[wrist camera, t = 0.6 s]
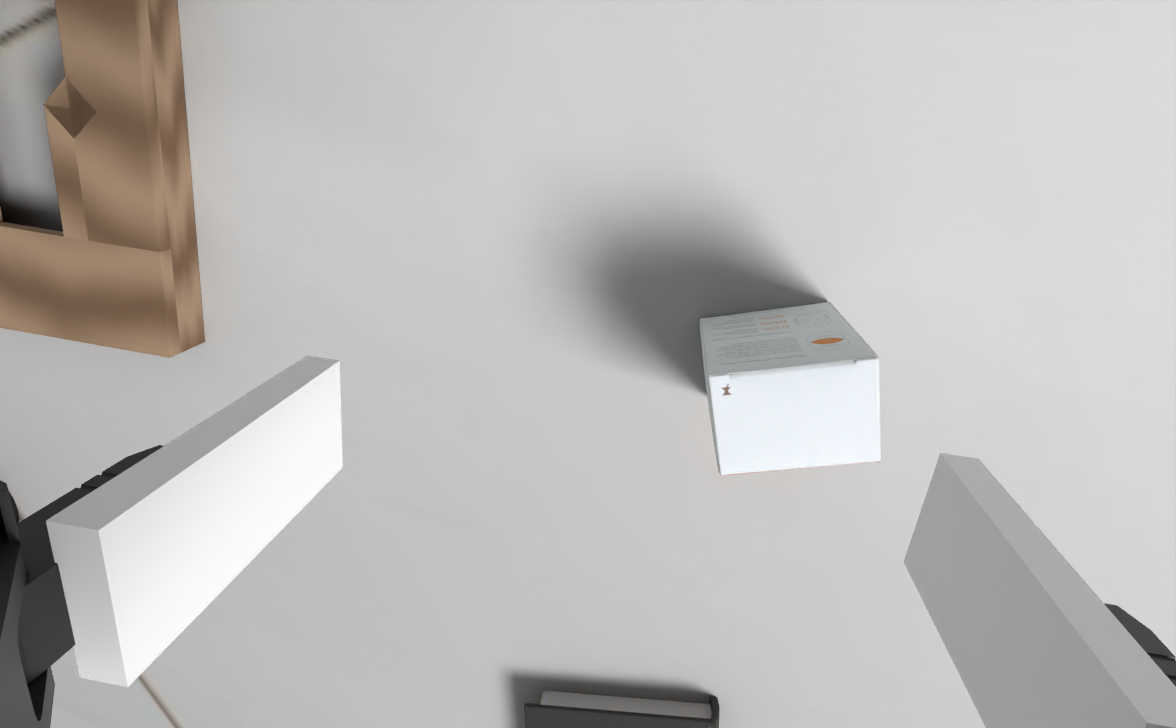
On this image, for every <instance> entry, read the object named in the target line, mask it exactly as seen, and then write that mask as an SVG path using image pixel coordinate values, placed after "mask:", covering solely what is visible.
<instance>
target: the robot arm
mask: <svg viewBox="0 0 1176 728" xmlns="http://www.w3.org/2000/svg"><path fill="white" fill-rule="evenodd" d="M342 468H343V462H342V428H341V394H340V361H338V360H332V359H325V358H319V357H312V356H306V357H305V358H303V359H301V360H300V361H298V362H297V363H295V364H293V365H292V366H290V367H289V368H287V369H286V370H284V371H282V372H281V373H279V374H278V375H276V376H274V377H273V378H271V379H270V380H268V381H266V382H265V383H263V384H262V385H260V386H259V387H257V388H255V389H254V390H252V391H251V392H249V393H247V394H246V395H244V396H243V397H241V398H240V399H238V400H236V401H235V402H233V403H232V404H230V405H228V406H227V407H225V408H224V409H222V410H221V411H219V412H217V413H216V414H214V415H213V416H211V417H209V418H208V419H206V420H205V421H203V422H201V423H200V424H198V425H197V426H195V427H194V428H192V429H190V430H189V431H187V432H186V433H184V434H182V435H181V436H179V437H178V438H176V439H175V440H173V441H171V442H170V443H168V444H167V445H165V446H161V445H159V446H156V447H153V448H150V449H147V450H145V451H142V452H139V453H136V454H133V455H131V456H128V457H126V458H124V459H123V460H121V461H119V462H118V463H116V464H114V465H113V466H111V467H110V468H108V469H106V470H105V471H103V472H102V475H96V476H95V477H93V478H91V479H90V480H88V481H87V482H85V483H83V484H82V485H81V488H75V489H73V490H72V491H70V492H68V493H67V494H65V495H63V496H62V497H60V498H59V499H57V500H55V501H54V502H52V503H50V504H49V505H47V506H45V507H44V508H42V509H40V510H39V511H37V512H36V513H34V514H32V515H31V516H29V517H27V518H26V519H24V520H22V521H21V522H19V523H17V524H16V520H15V516H14V512H13V508H12V503H11V499H10V495H9V491H8V487H7V484H6V483H4V482H2V481H0V728H50V723H51V714H52V705H53V696H54V687H55V683H54V679H53V675H52V671H51V665H52V664H53V663H55V662H56V661H57V660H58V659H59V658H60V657H61V656H63V655H64V654H65V653H66V652H67V651H68V650H70V649H71V648H72V647H74V652H75V656H76V661H77V665H78V670H79V674H80V678H85V679H90V680H95V681H100V682H105V683H110V684H115V685H119V686H124V687H129V686H130V685H131V684H132V683H133V681H134V680H135V679H136V678H137V677H138V676H139V675H140V674H141V673H142V672H143V671H144V670H145V669H146V668H147V667H148V666H149V665H150V664H151V663H152V662H153V661H154V660H155V659H156V658H157V657H158V656H159V655H160V654H161V653H162V652H163V651H164V650H165V649H166V648H167V647H168V646H169V645H170V644H171V643H172V642H173V641H174V640H175V639H176V637H177V636H178V635H179V634H180V633H181V632H182V631H183V630H184V629H185V628H186V627H187V626H188V625H189V624H190V623H191V622H192V621H193V620H194V619H195V618H196V617H197V616H198V615H199V614H200V613H201V612H202V611H203V610H204V609H205V608H206V607H207V606H208V605H209V604H210V603H211V602H212V601H213V600H214V599H215V598H216V597H217V596H218V594H219V593H220V592H221V591H222V590H223V589H224V588H225V587H226V586H227V585H228V584H229V583H230V582H231V581H232V580H233V579H234V578H235V577H236V576H237V575H238V574H239V573H240V572H241V571H242V570H243V569H244V568H245V567H246V566H247V565H248V564H249V563H250V562H251V561H252V560H253V559H254V558H255V557H256V556H257V555H258V554H259V553H260V551H261V550H262V549H263V548H264V547H265V546H266V545H267V544H268V543H269V542H270V541H271V540H272V539H273V538H274V537H275V536H276V535H277V534H278V533H279V532H280V531H281V530H282V529H283V528H284V527H285V526H286V525H287V524H288V523H289V522H290V521H291V520H292V519H293V518H294V517H295V516H296V515H297V514H298V513H299V512H300V511H301V510H302V509H303V507H304V506H305V505H306V504H307V503H308V502H309V501H310V500H311V499H312V498H313V497H314V496H315V495H316V494H317V493H318V492H319V491H320V490H321V489H322V488H323V487H324V486H325V485H326V484H327V483H328V482H329V481H330V480H331V479H332V478H333V477H334V476H335V475H336V474H337V473H338V472H339V471H340V470H341V469H342ZM904 563H905V565H906V567H907V569H908V571H909V573H910V575H911V577H912V579H913V581H914V583H915V586H916V588H917V590H918V592H919V594H920V596H921V598H922V600H923V602H924V604H925V606H926V608H927V610H928V612H929V614H930V616H931V618H932V620H933V622H934V624H935V626H936V628H937V630H938V632H939V634H940V636H941V638H942V640H943V642H944V644H945V646H946V648H947V650H948V652H949V654H950V656H951V658H952V660H953V662H954V664H955V666H956V668H957V670H958V672H959V674H960V676H961V678H962V680H963V682H964V684H965V686H966V688H967V690H968V692H969V694H970V696H971V698H972V700H973V702H974V704H975V706H976V708H977V710H978V712H979V714H980V717H981V719H982V721H983V723H984V725H985V727H986V728H1176V661H1175V658H1176V657H1175V656H1174V655H1173V654H1172V653H1171V652H1170V651H1169V650H1168V648H1167V647H1166V646H1165V645H1164V644H1163V643H1162V642H1161V641H1160V640H1159V639H1158V637H1157V636H1156V635H1155V634H1154V633H1153V632H1152V631H1151V630H1150V629H1148V628H1147V627H1146V626H1144V625H1143V624H1142V623H1140V622H1139V621H1137V620H1136V619H1135V618H1133V617H1132V616H1131V615H1129V614H1128V613H1127V612H1125V611H1124V610H1122V609H1121V608H1120V607H1118V606H1117V605H1111V604H1105V603H1103V602H1102V601H1101V600H1100V599H1099V597H1098V596H1097V595H1096V594H1095V593H1094V592H1093V591H1092V589H1091V588H1090V587H1089V586H1088V585H1087V584H1086V582H1085V581H1084V580H1083V579H1082V578H1081V577H1080V576H1079V574H1078V573H1077V572H1076V571H1075V570H1074V569H1073V567H1072V566H1071V565H1070V564H1069V563H1068V562H1067V561H1066V559H1065V558H1064V557H1063V556H1062V555H1061V554H1060V552H1059V551H1058V550H1057V549H1056V548H1055V547H1054V545H1053V544H1052V543H1051V542H1050V541H1049V540H1048V539H1047V537H1046V536H1045V535H1044V534H1043V533H1042V532H1041V530H1040V529H1039V528H1038V527H1037V526H1036V525H1035V524H1034V522H1033V521H1032V520H1031V519H1030V518H1029V517H1028V515H1027V514H1026V513H1025V512H1024V511H1023V510H1022V509H1021V507H1020V506H1019V505H1018V504H1017V503H1016V502H1015V500H1014V499H1013V498H1012V497H1011V496H1010V495H1009V494H1008V492H1007V491H1006V490H1005V489H1004V488H1003V487H1002V485H1001V484H1000V483H999V482H998V481H997V480H996V478H995V477H994V476H993V475H992V474H991V473H990V472H989V470H988V469H987V468H986V467H985V466H984V465H983V463H982V462H981V461H980V460H979V459H975V458H969V457H962V456H956V455H949V454H943V453H940V456H939V459H938V462H937V465H936V468H935V471H934V474H933V477H932V480H931V483H930V486H929V489H928V492H927V495H926V498H925V500H924V503H923V506H922V509H921V512H920V515H919V518H918V521H917V524H916V527H915V530H914V533H913V536H912V539H911V542H910V545H909V548H908V551H907V554H906V557H905V560H904Z"/></svg>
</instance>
